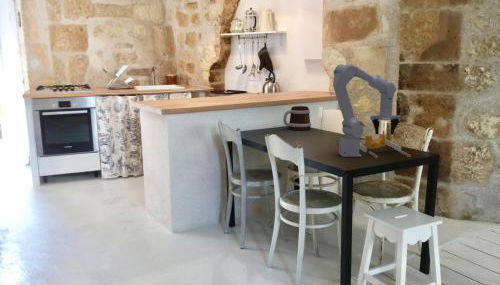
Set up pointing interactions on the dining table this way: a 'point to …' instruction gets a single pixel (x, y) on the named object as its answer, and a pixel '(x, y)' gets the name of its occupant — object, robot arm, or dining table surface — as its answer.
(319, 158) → the dining table surface
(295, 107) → the mug
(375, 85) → the robot arm
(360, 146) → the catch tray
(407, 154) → the slot guide
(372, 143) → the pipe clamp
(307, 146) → the dining table surface
